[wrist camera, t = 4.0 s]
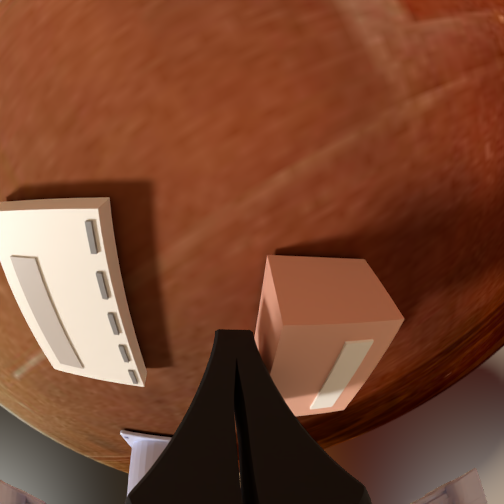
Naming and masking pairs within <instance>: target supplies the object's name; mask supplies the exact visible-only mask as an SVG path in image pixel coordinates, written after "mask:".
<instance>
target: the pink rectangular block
mask: <svg viewBox="0 0 504 504" xmlns="http://www.w3.org/2000/svg"><path fill="white" fill-rule="evenodd" d="M403 321H404V317H403V316H402V314H401V313H400V311H399V309H398V308H397V306H396V305H395V303H394V302H393V300H392V299H391V297H390V295H389V294H388V292H387V291H386V289H385V288H384V286H383V285H382V284H381V282H380V281H379V279H378V278H377V276H376V275H375V273H374V272H373V270H372V269H371V268H370V266H369V265H368V263H367V262H366V260H365V259H350V258H327V257H304V256H281V255H267V260H266V267H265V274H264V280H263V287H262V293H261V300H260V306H259V312H258V319H257V325H256V331H255V337H254V339H255V342H256V345H257V348H258V350H259V353H260V355H261V357H262V360H263V362H264V364H265V366H266V368H267V370H268V372H269V374H270V376H271V378H272V380H273V382H274V384H275V385H276V387H277V389H278V391H279V392H280V394H281V396H282V397H283V399H284V400H285V402H286V404H287V405H288V407H289V408H290V410H291V411H292V412H293V414H294V415H295V416H303V415H312V414H320V413H327V412H334V411H340V410H344V409H345V408H346V406H347V405H348V404H349V403H350V401H351V400H352V399H353V397H354V396H355V395H356V393H357V392H358V391H359V389H360V388H361V387H362V385H363V384H364V382H365V381H366V380H367V378H368V377H369V375H370V374H371V372H372V371H373V370H374V368H375V367H376V365H377V364H378V362H379V361H380V359H381V357H382V356H383V354H384V353H385V351H386V350H387V348H388V346H389V345H390V343H391V342H392V340H393V338H394V337H395V335H396V333H397V331H398V330H399V328H400V326H401V325H402V323H403Z"/></svg>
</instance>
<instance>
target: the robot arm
mask: <svg viewBox="0 0 504 504" xmlns="http://www.w3.org/2000/svg"><path fill="white" fill-rule="evenodd" d="M234 414H235V419H234ZM235 421H236V428H237V435H238V444H239V462H240V478H239V468H238V457H237V446H236V433H235ZM120 435H121V436H122V437H123V438H124V439H125V440H126V442H127V443H128V444H129V445H130V446H131V447H132V453H131V461H130V470H129V480H128V492H127V498H126V500H125V503H124V504H372V503H371V499H370V497H369V494H368V492H367V490H366V488H365V486H364V485H363V484H362V483H361V482H359V481H358V480H356V479H355V478H354V477H353V476H351V475H350V474H349V473H347V471H345V470H344V469H343V468H342V467H341V466H340V465H338V464H337V463H336V462H335V461H334V460H333V459H332V458H331V457H330V456H329V455H328V454H327V453H326V452H325V451H324V450H323V449H322V448H321V447H320V446H319V444H318V443H317V442H316V441H315V440H314V439H313V438H312V437H311V436H310V435H309V433H308V432H307V431H306V430H305V428H304V427H303V426H302V425H301V423H300V422H299V421H298V419H297V418H296V417H295V415H294V414H293V412H292V411H291V410H290V408H289V407H288V405H287V404H286V402H285V400H284V399H283V397H282V396H281V394H280V392H279V391H278V389H277V387H276V385H275V384H274V382H273V380H272V378H271V376H270V374H269V372H268V370H267V368H266V366H265V364H264V362H263V360H262V357H261V355H260V353H259V350H258V348H257V345H256V342H255V339H254V336H253V332H252V331H250V330H223V329H218V330H217V331H215V339H214V344H213V348H212V352H211V355H210V358H209V362H208V364H207V367H206V370H205V373H204V375H203V378H202V381H201V383H200V385H199V387H198V390H197V392H196V394H195V396H194V399H193V401H192V403H191V405H190V407H189V409H188V411H187V413H186V414H185V416H184V418H183V420H182V422H181V424H180V425H179V427H178V429H177V430H176V432H175V433H174V435H173V437H164V436H156V435H149V434H142V433H136V432H130V431H125V430H121V431H120ZM240 483H241V487H240ZM0 504H46V503H45V502H44V501H42V500H40V499H38V498H36V497H34V496H32V495H30V494H28V493H27V492H25V491H22V490H20V489H18V488H15V487H13V486H11V485H9V484H7V483H5V482H3V481H2V480H0ZM410 504H487V501H486V497H485V494H484V490H483V487H482V484H481V481H480V478H479V475H478V472H477V469H476V468H474V469H472V470H471V471H469V472H467V473H466V474H464V475H462V476H460V477H459V478H457V479H455V480H453V481H450V482H448V483H446V484H444V485H442V486H440V487H438V488H436V489H435V490H433V491H431V492H429V493H427V494H426V495H425V496H424V497H423V498H421V499H419V500H416V501H414V502H413V503H410Z"/></svg>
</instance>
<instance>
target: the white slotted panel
mask: <svg viewBox="0 0 504 504" xmlns="http://www.w3.org/2000/svg"><path fill="white" fill-rule="evenodd" d="M0 261H1V264H2V267H3V270H4V272H5V275H6V277H7V280H8V282H9V285H10V287H11V289H12V292H13V294H14V296H15V299H16V301H17V303H18V305H19V307H20V309H21V311H22V313H23V315H24V317H25V319H26V321H27V323H28V325H29V327H30V329H31V331H32V333H33V334H34V336H35V338H36V340H37V342H38V343H39V345H40V347H41V348H42V350H43V352H44V353H45V355H46V357H47V358H48V360H49V361H50V363H51V364H52V366H53V368H54V369H57V370H60V371H64V372H68V373H72V374H76V375H81V376H85V377H90V378H94V379H99V380H105V381H110V382H116V383H122V384H128V385H135V386H142V387H144V386H145V381H146V375H147V370H146V367H145V364H144V361H143V358H142V355H141V352H140V348H139V345H138V342H137V338H136V335H135V331H134V327H133V324H132V320H131V316H130V312H129V308H128V304H127V300H126V295H125V291H124V286H123V281H122V277H121V271H120V266H119V261H118V255H117V249H116V243H115V237H114V230H113V223H112V215H111V206H110V197H96V198H59V199H38V200H21V201H7V202H0Z"/></svg>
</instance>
